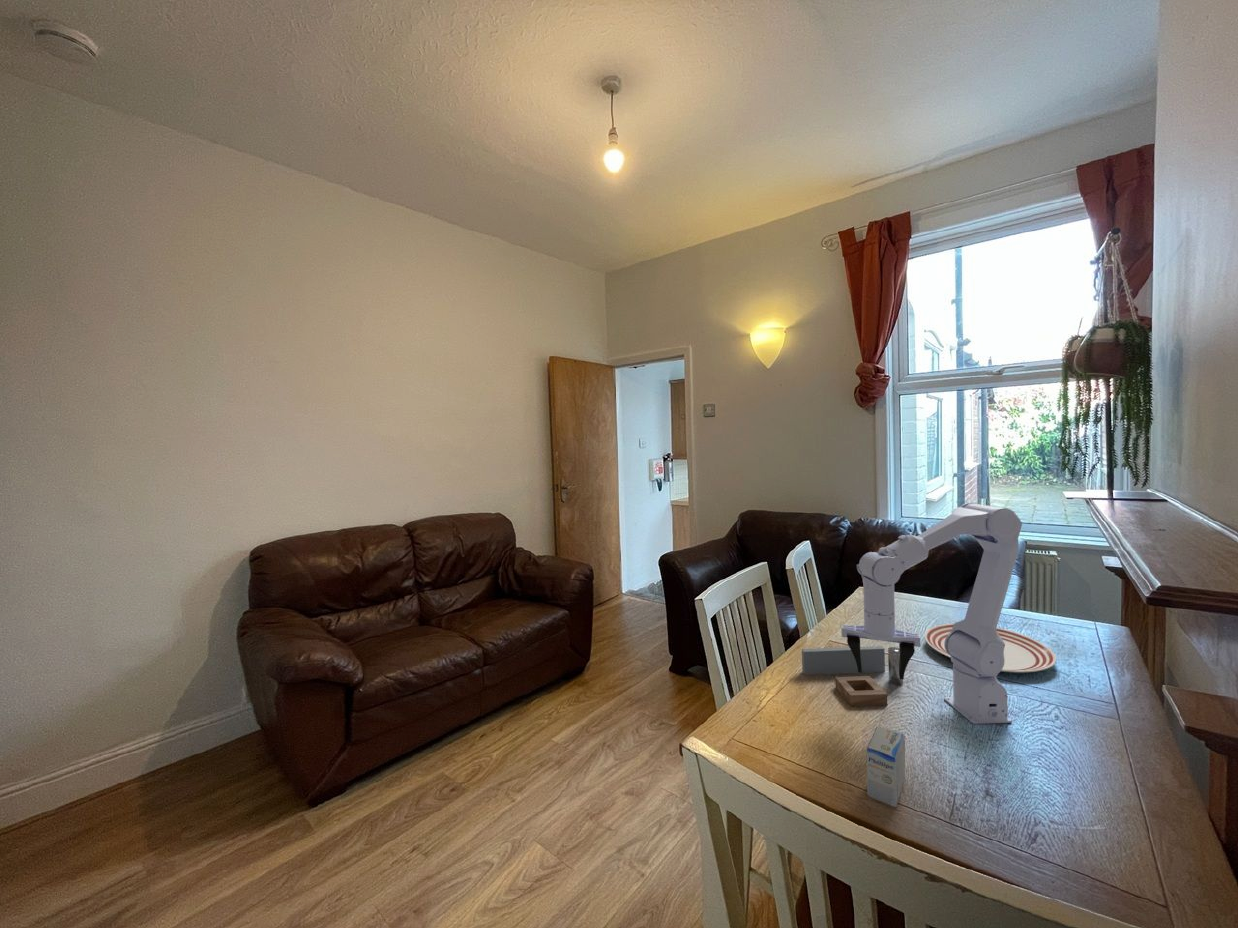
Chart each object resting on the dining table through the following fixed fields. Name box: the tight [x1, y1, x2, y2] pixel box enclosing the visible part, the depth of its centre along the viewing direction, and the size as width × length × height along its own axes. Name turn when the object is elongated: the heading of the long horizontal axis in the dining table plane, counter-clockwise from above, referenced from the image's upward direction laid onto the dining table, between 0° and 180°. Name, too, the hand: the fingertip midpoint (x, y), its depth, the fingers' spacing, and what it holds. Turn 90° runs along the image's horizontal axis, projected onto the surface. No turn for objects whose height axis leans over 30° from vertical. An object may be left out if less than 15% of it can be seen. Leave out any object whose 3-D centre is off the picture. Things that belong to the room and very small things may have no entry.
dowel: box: [887, 646, 904, 686], centre depth 115 cm, size 3×3×8 cm
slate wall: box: [801, 645, 886, 676], centre depth 121 cm, size 2×20×6 cm, turn 89°
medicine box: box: [866, 725, 906, 808], centre depth 82 cm, size 8×4×9 cm, turn 141°
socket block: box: [834, 675, 888, 707], centre depth 110 cm, size 8×8×2 cm
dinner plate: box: [924, 623, 1058, 674], centre depth 127 cm, size 27×27×3 cm
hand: (880, 673), depth 102 cm, fingers open, 7 cm apart
